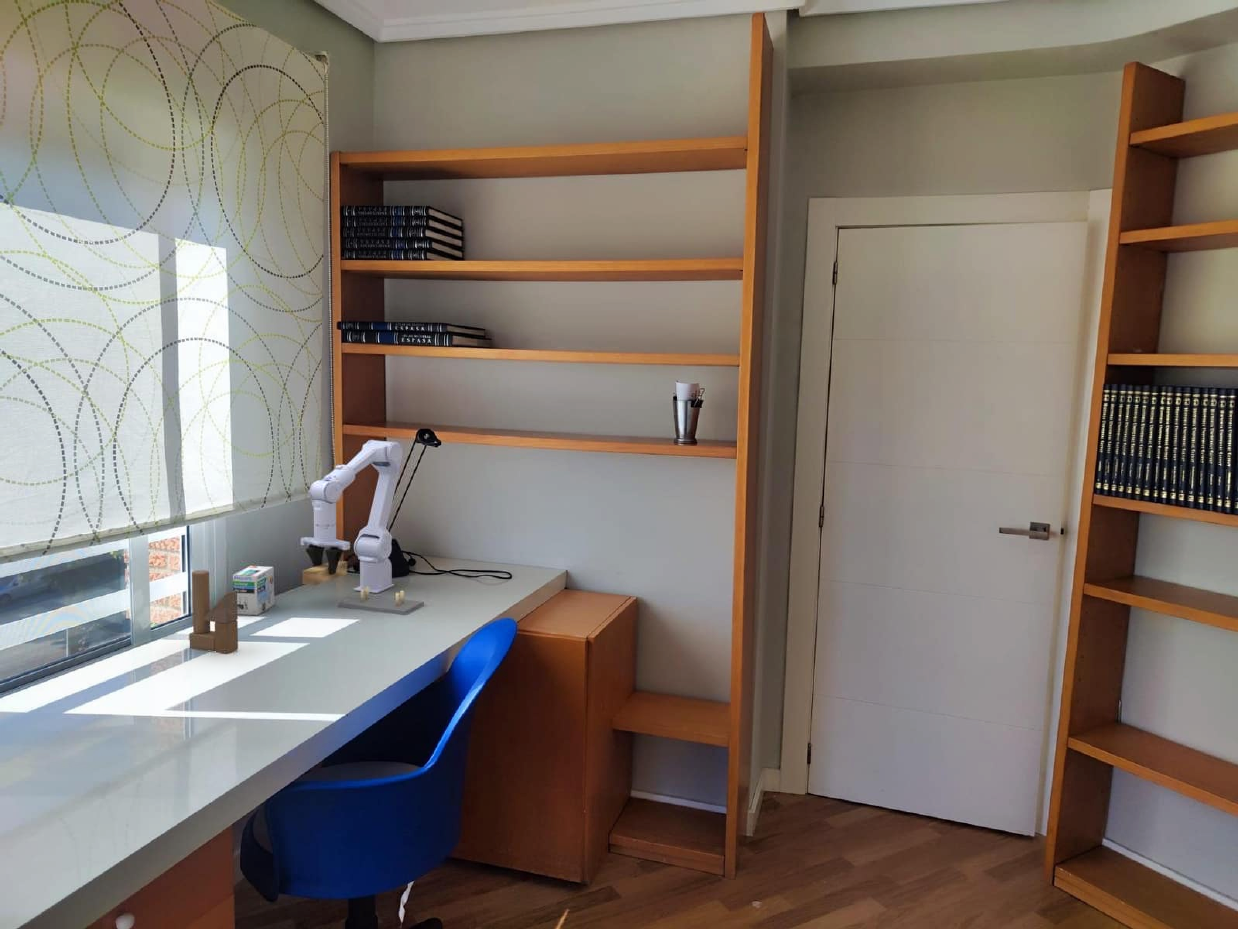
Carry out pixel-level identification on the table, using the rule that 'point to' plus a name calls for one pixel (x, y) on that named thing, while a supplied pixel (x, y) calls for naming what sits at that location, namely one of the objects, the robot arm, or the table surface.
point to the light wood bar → (322, 573)
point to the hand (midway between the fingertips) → (325, 573)
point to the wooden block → (213, 617)
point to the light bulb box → (254, 589)
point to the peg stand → (382, 603)
